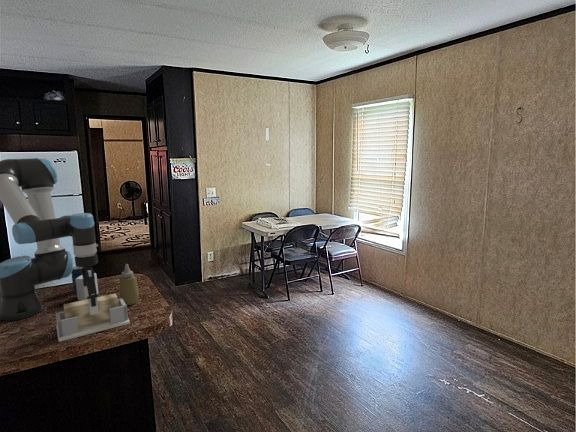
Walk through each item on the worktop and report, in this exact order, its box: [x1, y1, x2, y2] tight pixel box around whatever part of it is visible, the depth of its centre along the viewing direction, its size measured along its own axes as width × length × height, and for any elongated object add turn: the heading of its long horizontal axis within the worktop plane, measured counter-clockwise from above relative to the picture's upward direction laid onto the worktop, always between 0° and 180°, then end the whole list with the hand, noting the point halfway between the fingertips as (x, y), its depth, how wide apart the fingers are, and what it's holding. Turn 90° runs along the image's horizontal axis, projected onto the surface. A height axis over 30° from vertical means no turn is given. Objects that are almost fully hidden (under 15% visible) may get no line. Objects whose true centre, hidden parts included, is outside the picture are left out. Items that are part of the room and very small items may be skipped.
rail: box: [62, 293, 119, 326], centre depth 140 cm, size 18×4×8 cm, turn 125°
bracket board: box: [55, 298, 131, 343], centre depth 141 cm, size 24×12×7 cm, turn 125°
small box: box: [75, 272, 99, 301], centre depth 169 cm, size 8×6×10 cm
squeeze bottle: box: [119, 263, 140, 306], centre depth 161 cm, size 8×8×18 cm
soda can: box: [70, 265, 82, 294], centre depth 176 cm, size 7×7×12 cm
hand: (91, 307), depth 140 cm, fingers open, 13 cm apart
